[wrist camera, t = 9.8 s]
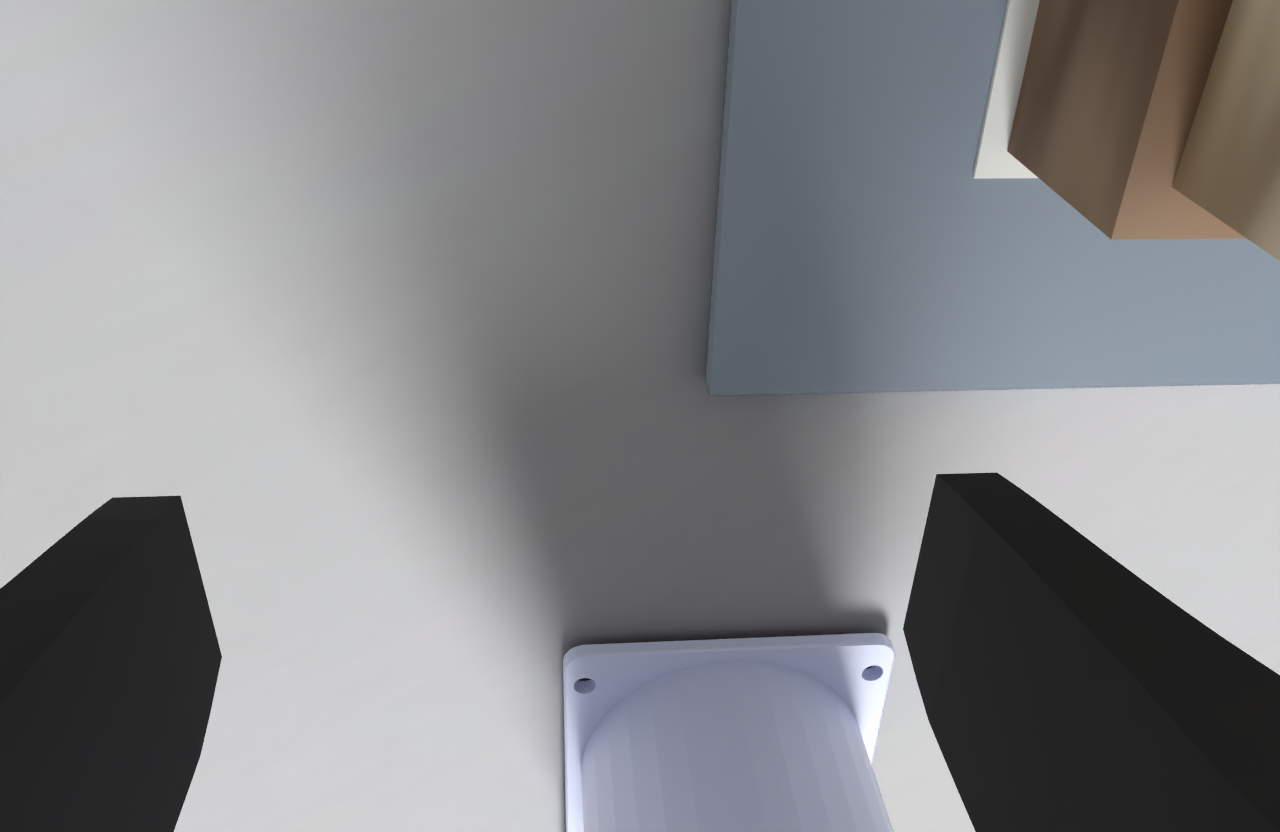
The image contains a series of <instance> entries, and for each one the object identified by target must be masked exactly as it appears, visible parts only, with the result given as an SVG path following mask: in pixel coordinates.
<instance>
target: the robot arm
mask: <svg viewBox="0 0 1280 832" xmlns="http://www.w3.org/2000/svg"><path fill="white" fill-rule="evenodd" d="M903 630H904V634H905V637H906V641H907V645H908V649H909V653H910V656H911V660H912V664H913V668H914V671H915V675H916V679H917V682H918V686H919V689H920V693H921V696H922V699H923V703H924V706H925V710H926V713H927V716H928V720H929V722H930V725H931V727H932V730H933V732H934V734H935V737H936V739H937V742H938V744H939V747H940V749H941V751H942V754H943V756H944V758H945V761H946V763H947V766H948V768H949V770H950V773H951V775H952V777H953V780H954V782H955V785H956V787H957V789H958V792H959V794H960V796H961V799H962V801H963V803H964V806H965V808H966V810H967V813H968V815H969V817H970V819H971V822H972V824H973V826H974V829H975V831H976V832H1280V675H1278V674H1277V673H1275V672H1274V671H1272V670H1271V669H1269V668H1268V667H1266V666H1265V665H1263V664H1262V663H1260V662H1259V661H1257V660H1256V659H1254V658H1253V657H1251V656H1250V655H1248V654H1247V653H1245V652H1244V651H1242V650H1241V649H1239V648H1238V647H1236V646H1235V645H1233V644H1232V643H1230V642H1229V641H1227V640H1226V639H1224V638H1223V637H1221V636H1220V635H1218V634H1217V633H1215V632H1214V631H1212V630H1211V629H1210V628H1208V627H1207V626H1205V625H1204V624H1202V623H1201V622H1200V621H1198V620H1197V619H1195V618H1194V617H1192V616H1191V615H1190V614H1188V613H1187V612H1185V611H1184V610H1183V609H1181V608H1180V607H1178V606H1177V605H1176V604H1174V603H1173V602H1171V601H1170V600H1169V599H1167V598H1166V597H1165V596H1163V595H1162V594H1160V593H1159V592H1158V591H1156V590H1155V589H1154V588H1152V587H1151V586H1150V585H1148V584H1147V583H1145V582H1144V581H1143V580H1141V579H1140V578H1139V577H1137V576H1136V575H1135V574H1133V573H1132V572H1131V571H1129V570H1128V569H1127V568H1125V567H1124V566H1123V565H1121V564H1120V563H1119V562H1117V561H1116V560H1115V559H1113V558H1112V557H1111V556H1109V555H1108V554H1107V553H1105V552H1104V551H1103V550H1101V549H1100V548H1099V547H1097V546H1096V545H1095V544H1093V543H1092V542H1091V541H1089V540H1088V539H1087V538H1085V537H1084V536H1083V535H1081V534H1080V533H1079V532H1078V531H1076V530H1075V529H1074V528H1072V527H1071V526H1070V525H1068V524H1067V523H1066V522H1064V521H1063V520H1062V519H1060V518H1059V517H1058V516H1056V515H1055V514H1054V513H1052V512H1051V511H1050V510H1048V509H1047V508H1046V507H1044V506H1043V505H1042V504H1040V503H1039V502H1038V501H1036V500H1035V499H1034V498H1032V497H1031V496H1030V495H1028V494H1027V493H1026V492H1024V491H1023V490H1021V489H1020V488H1019V487H1017V486H1016V485H1014V484H1013V483H1011V482H1010V481H1008V480H1007V479H1005V478H1004V477H1002V476H1001V475H999V474H998V473H969V474H937V475H936V479H935V484H934V489H933V493H932V498H931V502H930V507H929V512H928V516H927V521H926V526H925V530H924V535H923V539H922V544H921V549H920V553H919V558H918V562H917V567H916V572H915V576H914V581H913V586H912V590H911V595H910V599H909V604H908V609H907V613H906V618H905V622H904V627H903ZM221 658H222V656H221V652H220V648H219V644H218V640H217V636H216V632H215V629H214V625H213V621H212V617H211V613H210V609H209V605H208V601H207V597H206V594H205V590H204V586H203V582H202V578H201V574H200V570H199V566H198V563H197V559H196V555H195V551H194V547H193V543H192V539H191V535H190V531H189V527H188V524H187V520H186V516H185V512H184V508H183V504H182V500H181V496H158V497H122V498H111V499H110V500H109V501H107V502H106V503H105V504H103V505H102V506H101V507H99V508H98V509H97V510H95V511H94V512H93V513H92V514H90V515H89V516H88V517H87V518H85V519H84V520H83V521H82V522H80V523H79V524H78V525H77V526H76V527H74V528H73V529H72V530H71V531H69V532H68V533H67V534H66V535H65V536H63V537H62V538H61V539H60V540H59V541H57V542H56V543H55V544H54V545H53V546H51V547H50V548H49V549H48V550H47V551H45V552H44V553H43V554H42V555H41V556H39V557H38V558H37V559H36V560H35V561H33V562H32V563H31V564H30V565H29V566H27V567H26V568H25V569H24V570H23V571H21V572H20V573H19V574H18V575H17V576H16V577H14V578H13V579H12V580H11V581H10V582H8V583H7V584H6V585H5V586H3V587H2V588H1V589H0V832H174V829H175V826H176V823H177V820H178V817H179V815H180V812H181V809H182V806H183V803H184V801H185V798H186V795H187V792H188V789H189V787H190V784H191V781H192V778H193V775H194V772H195V769H196V766H197V763H198V761H199V758H200V754H201V750H202V746H203V742H204V737H205V733H206V729H207V724H208V720H209V716H210V711H211V707H212V702H213V697H214V692H215V687H216V682H217V677H218V672H219V667H220V662H221ZM894 659H895V650H894V647H893V645H892V642H891V640H890V639H889V638H888V637H887V636H886V635H884V634H880V633H859V634H834V635H810V636H785V637H761V638H737V639H712V640H688V641H663V642H639V643H615V644H590V645H580V646H576V647H574V648H572V649H570V650H569V651H568V652H567V653H566V654H565V655H564V659H563V685H564V742H565V798H566V832H893V829H892V826H891V823H890V820H889V817H888V814H887V811H886V808H885V805H884V802H883V799H882V796H881V793H880V790H879V787H878V784H877V781H876V778H875V775H874V772H873V769H872V761H873V757H874V752H875V747H876V743H877V738H878V733H879V729H880V724H881V719H882V715H883V710H884V705H885V701H886V696H887V691H888V687H889V682H890V677H891V673H892V668H893V663H894ZM873 665H876V666H874V667H873V668H869V669H866V668H867V667H869V666H873ZM582 678H589V679H591V680H589V681H578V680H579V679H582Z"/></svg>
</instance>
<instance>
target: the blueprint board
mask: <svg viewBox="0 0 1280 832" xmlns="http://www.w3.org/2000/svg"><path fill="white" fill-rule="evenodd" d="M1039 1H1040V0H732V1H731V15H730V30H729V44H728V59H727V74H726V88H725V103H724V117H723V132H722V146H721V161H720V176H719V190H718V205H717V219H716V234H715V248H714V263H713V278H712V292H711V307H710V321H709V336H708V350H707V365H706V379H705V381H706V385H707V388H708V392H709V396H721V395H769V394H816V393H863V392H911V391H958V390H1005V389H1052V388H1100V387H1147V386H1194V385H1242V384H1280V261H1279V260H1277V259H1276V258H1274V257H1273V256H1271V255H1270V254H1268V253H1267V252H1266V251H1264V250H1263V249H1261V248H1260V247H1258V246H1257V245H1255V244H1254V243H1252V242H1251V241H1250V240H1248V239H1247V238H1236V239H1122V240H1111V239H1110V238H1109V237H1107V236H1106V235H1105V234H1104V233H1103V232H1102V231H1100V230H1099V229H1098V228H1097V227H1096V226H1094V225H1093V224H1092V223H1091V222H1090V221H1089V220H1087V219H1086V218H1085V217H1084V216H1083V215H1082V214H1080V213H1079V212H1078V211H1077V210H1076V209H1074V208H1073V207H1072V206H1071V205H1070V204H1069V203H1067V202H1066V201H1065V200H1064V199H1063V198H1062V197H1060V196H1059V195H1058V194H1057V193H1056V192H1054V191H1053V190H1052V189H1051V188H1050V187H1049V186H1047V185H1046V184H1045V183H1044V182H1043V181H1042V180H1040V179H1039V178H1038V177H1037V176H1036V175H1034V174H1033V173H1032V172H1031V171H1030V170H1029V169H1027V168H1026V167H1025V166H1024V165H1023V164H1022V163H1020V162H1019V161H1018V160H1017V159H1016V158H1014V157H1013V156H1012V155H1011V154H1010V153H1009V152H1007V149H1008V145H1009V140H1010V135H1011V131H1012V126H1013V121H1014V117H1015V112H1016V108H1017V103H1018V98H1019V94H1020V89H1021V84H1022V80H1023V75H1024V71H1025V66H1026V61H1027V57H1028V52H1029V47H1030V43H1031V38H1032V34H1033V29H1034V24H1035V20H1036V15H1037V11H1038V6H1039Z"/></svg>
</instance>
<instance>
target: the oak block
mask: <svg viewBox="0 0 1280 832" xmlns="http://www.w3.org/2000/svg"><path fill="white" fill-rule="evenodd" d="M1172 188H1174V189H1175V190H1177V191H1178V192H1180V193H1181V194H1183V195H1184V196H1185V197H1187V198H1188V199H1190V200H1191V201H1193V202H1194V203H1196V204H1197V205H1199V206H1200V207H1201V208H1203V209H1204V210H1206V211H1207V212H1209V213H1210V214H1212V215H1213V216H1215V217H1216V218H1217V219H1219V220H1220V221H1222V222H1223V223H1225V224H1226V225H1228V226H1229V227H1231V228H1232V229H1233V230H1235V231H1236V232H1238V233H1239V234H1241V235H1242V236H1244V237H1245V238H1247V239H1248V240H1250V241H1251V242H1252V243H1254V244H1255V245H1257V246H1258V247H1260V248H1261V249H1263V250H1264V251H1266V252H1267V253H1268V254H1270V255H1271V256H1273V257H1274V258H1276V259H1277V260H1279V261H1280V0H1233V2H1232V5H1231V8H1230V11H1229V14H1228V17H1227V20H1226V23H1225V26H1224V29H1223V32H1222V35H1221V39H1220V42H1219V45H1218V48H1217V51H1216V54H1215V57H1214V60H1213V63H1212V66H1211V69H1210V72H1209V75H1208V78H1207V81H1206V85H1205V88H1204V91H1203V94H1202V97H1201V100H1200V103H1199V106H1198V109H1197V112H1196V115H1195V118H1194V121H1193V124H1192V127H1191V130H1190V134H1189V137H1188V140H1187V143H1186V146H1185V149H1184V152H1183V155H1182V158H1181V161H1180V164H1179V167H1178V170H1177V173H1176V176H1175V180H1174V183H1173V186H1172Z"/></svg>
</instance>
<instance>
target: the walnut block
mask: <svg viewBox="0 0 1280 832" xmlns="http://www.w3.org/2000/svg"><path fill="white" fill-rule="evenodd" d="M1232 2H1233V0H1040V1H1039V6H1038V11H1037V15H1036V20H1035V24H1034V29H1033V34H1032V38H1031V43H1030V47H1029V52H1028V57H1027V61H1026V66H1025V71H1024V75H1023V80H1022V84H1021V89H1020V94H1019V98H1018V103H1017V108H1016V112H1015V117H1014V121H1013V126H1012V131H1011V135H1010V140H1009V145H1008V149H1007V152H1009V153H1010V154H1011V155H1012V156H1013V157H1014V158H1016V159H1017V160H1018V161H1019V162H1020V163H1022V164H1023V165H1024V166H1025V167H1026V168H1027V169H1029V170H1030V171H1031V172H1032V173H1033V174H1034V175H1036V176H1037V177H1038V178H1039V179H1040V180H1042V181H1043V182H1044V183H1045V184H1046V185H1047V186H1049V187H1050V188H1051V189H1052V190H1053V191H1054V192H1056V193H1057V194H1058V195H1059V196H1060V197H1062V198H1063V199H1064V200H1065V201H1066V202H1067V203H1069V204H1070V205H1071V206H1072V207H1073V208H1074V209H1076V210H1077V211H1078V212H1079V213H1080V214H1082V215H1083V216H1084V217H1085V218H1086V219H1087V220H1089V221H1090V222H1091V223H1092V224H1093V225H1094V226H1096V227H1097V228H1098V229H1099V230H1100V231H1102V232H1103V233H1104V234H1105V235H1106V236H1107V237H1109V238H1110V239H1111V240H1122V239H1236V238H1245V237H1244V236H1242V235H1241V234H1239V233H1238V232H1236V231H1235V230H1233V229H1232V228H1231V227H1229V226H1228V225H1226V224H1225V223H1223V222H1222V221H1220V220H1219V219H1217V218H1216V217H1215V216H1213V215H1212V214H1210V213H1209V212H1207V211H1206V210H1204V209H1203V208H1201V207H1200V206H1199V205H1197V204H1196V203H1194V202H1193V201H1191V200H1190V199H1188V198H1187V197H1185V196H1184V195H1183V194H1181V193H1180V192H1178V191H1177V190H1175V189H1174V188H1172V186H1173V183H1174V180H1175V176H1176V173H1177V170H1178V167H1179V164H1180V161H1181V158H1182V155H1183V152H1184V149H1185V146H1186V143H1187V140H1188V137H1189V134H1190V130H1191V127H1192V124H1193V121H1194V118H1195V115H1196V112H1197V109H1198V106H1199V103H1200V100H1201V97H1202V94H1203V91H1204V88H1205V85H1206V81H1207V78H1208V75H1209V72H1210V69H1211V66H1212V63H1213V60H1214V57H1215V54H1216V51H1217V48H1218V45H1219V42H1220V39H1221V35H1222V32H1223V29H1224V26H1225V23H1226V20H1227V17H1228V14H1229V11H1230V8H1231V5H1232Z"/></svg>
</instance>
